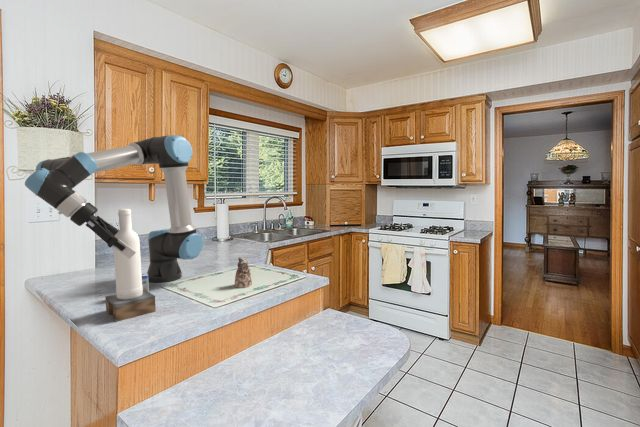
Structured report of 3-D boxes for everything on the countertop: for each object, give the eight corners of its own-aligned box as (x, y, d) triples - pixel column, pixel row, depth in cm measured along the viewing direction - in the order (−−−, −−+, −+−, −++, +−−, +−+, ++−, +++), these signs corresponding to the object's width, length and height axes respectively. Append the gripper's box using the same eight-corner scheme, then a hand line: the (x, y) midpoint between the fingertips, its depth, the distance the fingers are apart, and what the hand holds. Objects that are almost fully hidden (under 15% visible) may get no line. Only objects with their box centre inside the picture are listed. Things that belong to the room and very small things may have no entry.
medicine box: (126, 300, 129) (124, 278, 129) (126, 297, 133) (125, 275, 132) (149, 297, 133) (148, 275, 132) (149, 293, 137) (147, 272, 136)
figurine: (239, 288, 143) (239, 260, 142) (231, 285, 148) (231, 258, 147) (254, 285, 147) (254, 258, 146) (246, 282, 153) (245, 255, 152)
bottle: (121, 301, 111) (115, 210, 109) (112, 296, 117) (107, 209, 114) (146, 295, 117) (141, 209, 115) (137, 291, 123) (132, 208, 120)
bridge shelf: (143, 303, 126) (142, 288, 126) (155, 311, 118) (154, 295, 117) (106, 311, 118) (105, 296, 117) (116, 321, 109) (115, 304, 109)
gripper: (76, 215, 119) (128, 253, 127) (59, 222, 97) (122, 268, 105) (93, 200, 121) (143, 238, 129) (80, 203, 99) (141, 249, 106)
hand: (134, 252), depth 117 cm, fingers open, 13 cm apart
